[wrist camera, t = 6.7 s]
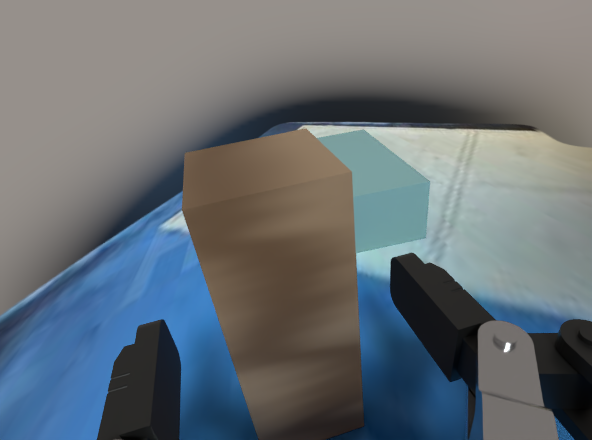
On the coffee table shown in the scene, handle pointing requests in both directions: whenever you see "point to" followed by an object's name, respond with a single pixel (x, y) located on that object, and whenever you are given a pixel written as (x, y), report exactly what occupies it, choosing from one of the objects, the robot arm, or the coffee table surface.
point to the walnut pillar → (282, 278)
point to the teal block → (381, 191)
